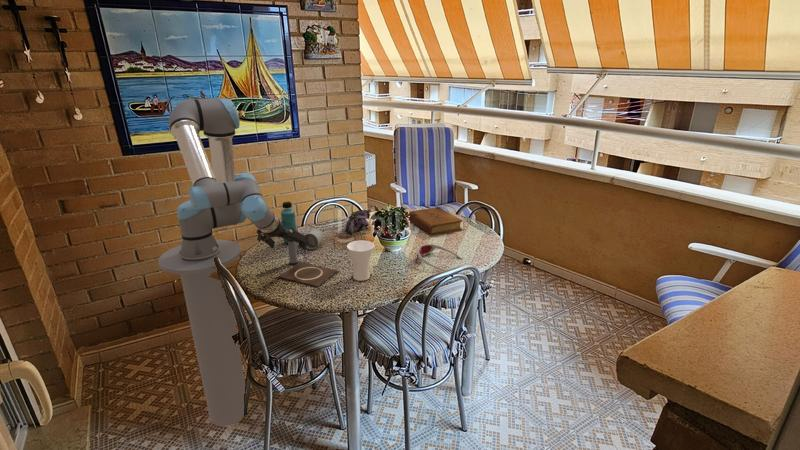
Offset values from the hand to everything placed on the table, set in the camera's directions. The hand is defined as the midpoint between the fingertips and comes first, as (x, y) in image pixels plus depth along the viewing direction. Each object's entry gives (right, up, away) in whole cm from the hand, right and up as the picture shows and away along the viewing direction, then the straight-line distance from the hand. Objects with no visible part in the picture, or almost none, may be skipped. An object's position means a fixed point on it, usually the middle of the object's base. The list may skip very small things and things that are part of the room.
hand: (289, 246), depth 166 cm
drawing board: (+9, -11, -4) cm, 15 cm away
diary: (+63, +8, +48) cm, 80 cm away
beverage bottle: (-7, 0, +26) cm, 27 cm away
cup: (+30, -12, -5) cm, 33 cm away
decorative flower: (+24, +6, +42) cm, 49 cm away
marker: (0, -7, +6) cm, 10 cm away
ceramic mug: (+4, -1, +23) cm, 23 cm away
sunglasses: (+61, -7, +9) cm, 62 cm away
